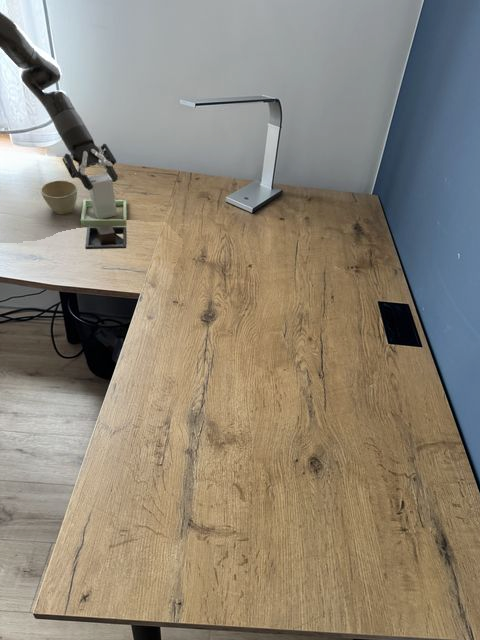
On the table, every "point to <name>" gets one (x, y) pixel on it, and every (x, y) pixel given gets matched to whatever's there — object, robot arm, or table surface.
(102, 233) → the dark block
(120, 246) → the dark tray
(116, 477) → the table surface
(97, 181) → the cosmetic box
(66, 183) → the bowl
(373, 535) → the table surface
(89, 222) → the light tray
